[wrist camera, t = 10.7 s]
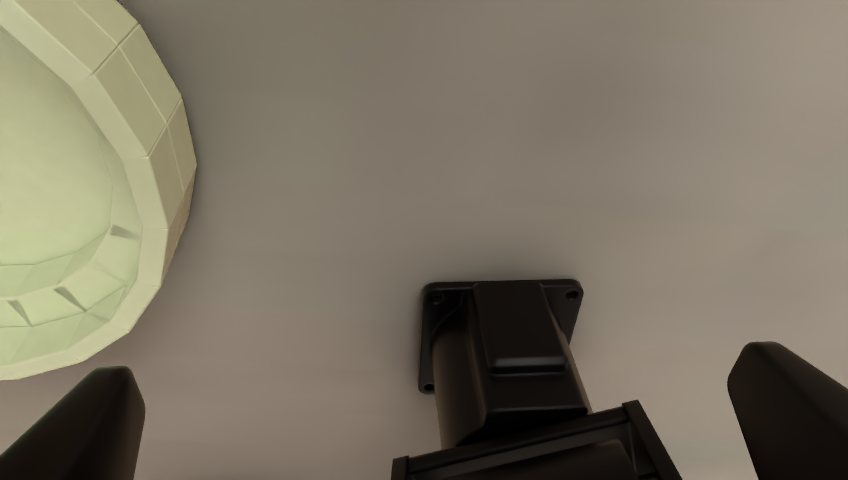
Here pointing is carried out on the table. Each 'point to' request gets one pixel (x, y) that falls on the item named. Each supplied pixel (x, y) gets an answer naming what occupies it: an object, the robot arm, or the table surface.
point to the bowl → (83, 179)
